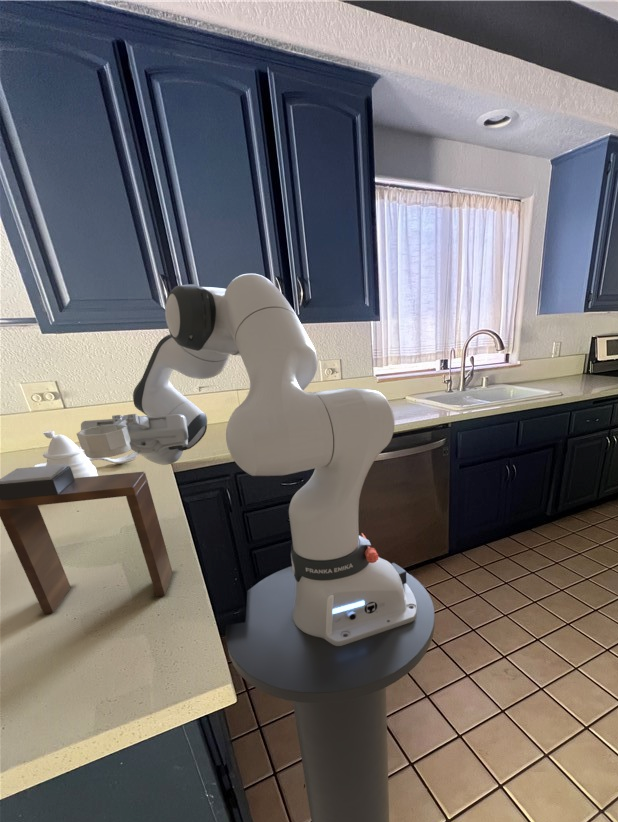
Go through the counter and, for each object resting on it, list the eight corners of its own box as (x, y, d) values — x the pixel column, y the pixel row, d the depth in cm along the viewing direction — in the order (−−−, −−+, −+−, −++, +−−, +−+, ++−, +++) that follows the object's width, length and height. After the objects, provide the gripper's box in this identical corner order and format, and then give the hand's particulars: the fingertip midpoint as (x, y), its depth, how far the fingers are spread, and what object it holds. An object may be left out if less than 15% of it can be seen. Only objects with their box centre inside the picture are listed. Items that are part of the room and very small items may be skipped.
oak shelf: (172, 572, 87) (144, 471, 78) (165, 595, 80) (133, 487, 71) (62, 588, 83) (18, 483, 73) (43, 614, 76) (-8, 501, 66)
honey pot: (57, 499, 123) (33, 439, 116) (47, 488, 132) (25, 431, 124) (106, 487, 132) (87, 429, 124) (94, 477, 140) (76, 423, 132)
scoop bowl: (150, 428, 90) (145, 409, 88) (125, 455, 73) (118, 432, 71) (113, 431, 88) (107, 412, 86) (79, 460, 72) (71, 436, 70)
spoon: (137, 466, 150) (134, 456, 148) (30, 476, 142) (27, 467, 140) (142, 458, 157) (140, 449, 156) (42, 468, 149) (38, 458, 148)
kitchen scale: (75, 479, 75) (69, 463, 73) (58, 494, 68) (51, 477, 67) (22, 484, 73) (15, 467, 72) (0, 500, 67) (-8, 482, 65)
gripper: (95, 426, 97) (63, 406, 83) (191, 419, 101) (176, 399, 88) (98, 454, 96) (67, 438, 83) (195, 445, 101) (179, 429, 87)
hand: (124, 418), depth 85 cm, fingers closed on scoop bowl
